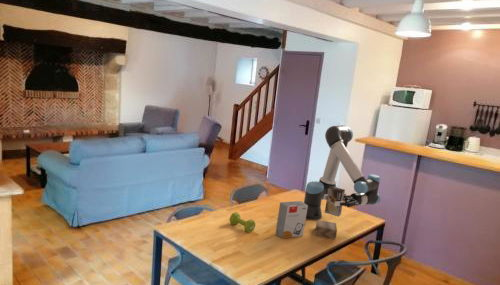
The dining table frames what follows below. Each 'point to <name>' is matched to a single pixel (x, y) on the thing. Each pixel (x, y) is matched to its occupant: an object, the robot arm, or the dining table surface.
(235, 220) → the dumbbell
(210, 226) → the dining table surface
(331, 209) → the coffee box
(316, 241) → the dining table surface
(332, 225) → the walnut block
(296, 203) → the hard drive box
